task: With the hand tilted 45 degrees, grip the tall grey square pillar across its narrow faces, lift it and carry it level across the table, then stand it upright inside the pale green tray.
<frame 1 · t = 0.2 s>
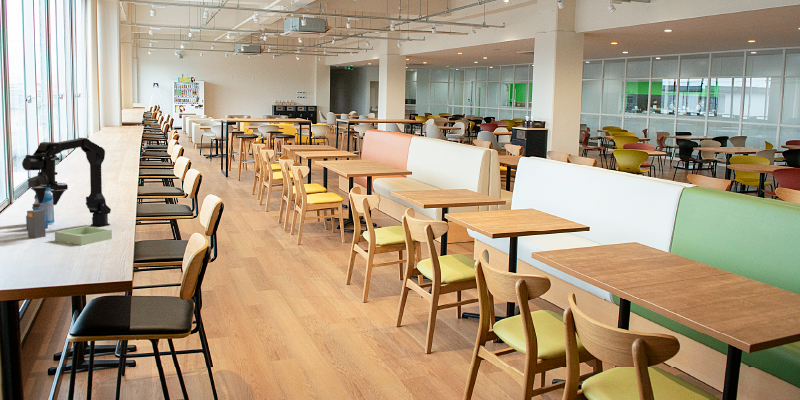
hand: (47, 204, 273), 14 cm above the counter, tool pointing down, fingers open, 9 cm apart
grey square pillar: (36, 236, 270), on the counter
perfume bottle: (37, 229, 287), on the counter
pale green tray: (83, 239, 268), on the counter
beverage bottle: (45, 224, 299), on the counter
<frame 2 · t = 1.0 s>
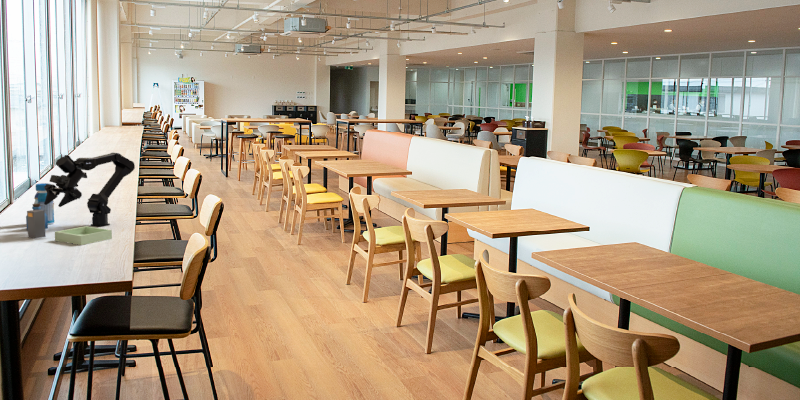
hand: (52, 205, 275), 13 cm above the counter, tool tilted 45°, fingers open, 9 cm apart
nothing on the counter moved.
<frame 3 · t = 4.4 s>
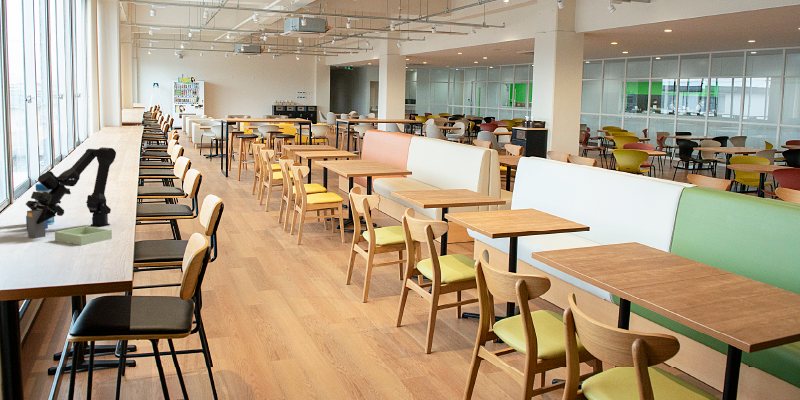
hand: (33, 223, 268), 7 cm above the counter, tool tilted 45°, fingers closed on grey square pillar, 4 cm apart
grey square pillar: (36, 236, 270), on the counter, touching gripper
everything else where it was.
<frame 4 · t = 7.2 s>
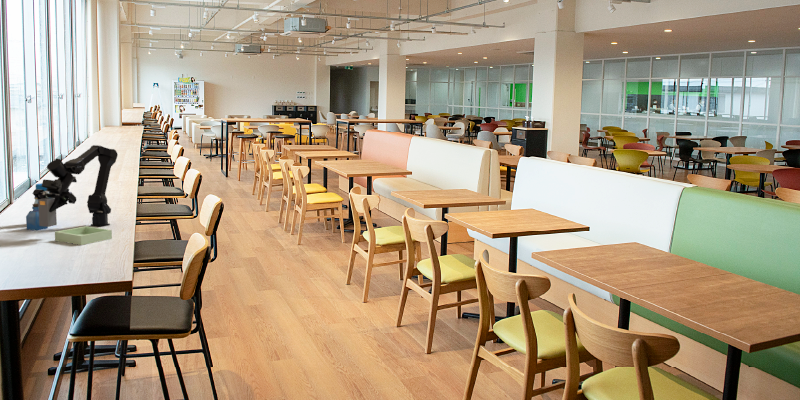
hand: (45, 211, 265), 13 cm above the counter, tool tilted 45°, fingers closed on grey square pillar, 4 cm apart
grey square pillar: (48, 225, 267), point 6 cm above the counter, touching gripper
everything else where it was.
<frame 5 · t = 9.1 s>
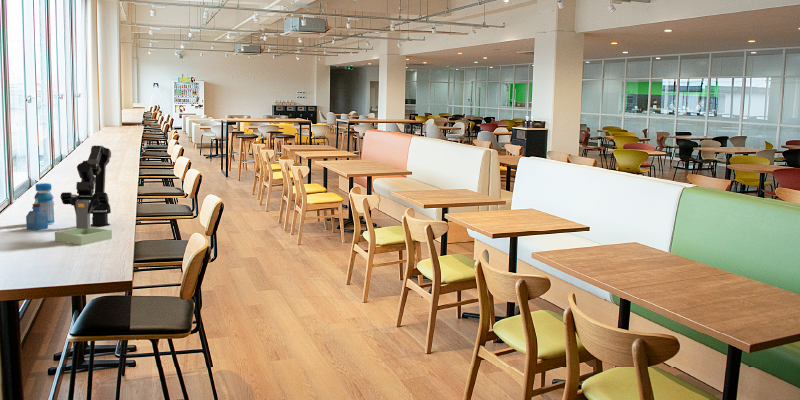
hand: (82, 213, 265), 12 cm above the counter, tool tilted 45°, fingers closed on grey square pillar, 4 cm apart
grey square pillar: (83, 227, 268), point 6 cm above the counter, touching gripper
everything else where it was.
when the fingers open (9 cm above the counter, at t = 10.4 s): grey square pillar drops 1 cm, resting on pale green tray.
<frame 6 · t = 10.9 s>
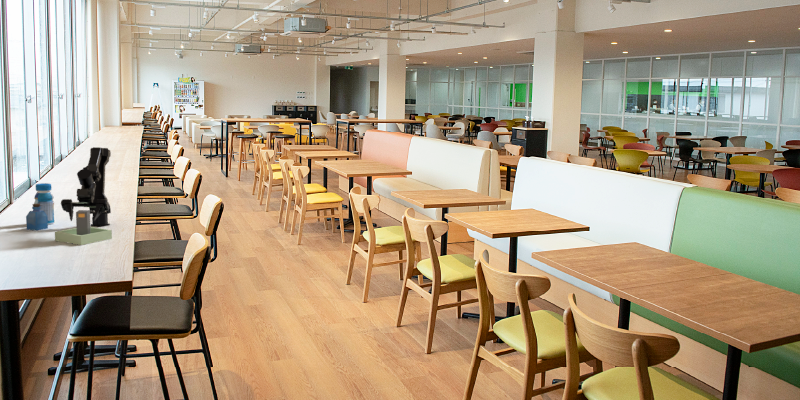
hand: (82, 220, 266), 9 cm above the counter, tool tilted 45°, fingers open, 9 cm apart
grey square pillar: (83, 237, 268), point 1 cm above the counter, touching pale green tray
everything else where it was.
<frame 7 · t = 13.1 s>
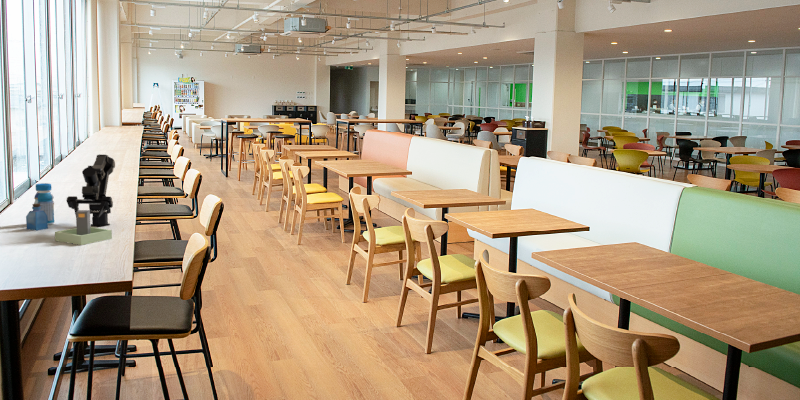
hand: (87, 216, 275), 9 cm above the counter, tool tilted 45°, fingers open, 9 cm apart
nothing on the counter moved.
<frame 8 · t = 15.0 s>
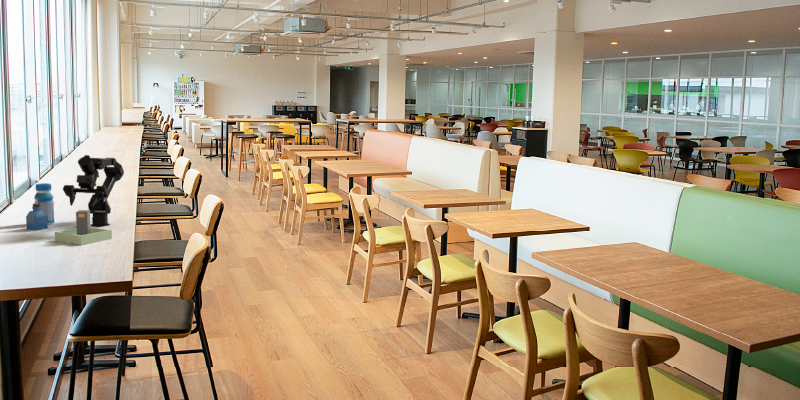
hand: (81, 205, 277), 14 cm above the counter, tool tilted 45°, fingers open, 9 cm apart
nothing on the counter moved.
at the end: grey square pillar inside the target area on the pale green tray (0.1 cm from its centre), point 1.0 cm above the pale green tray's base; grey square pillar tilted 0°; the gripper is holding nothing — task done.
